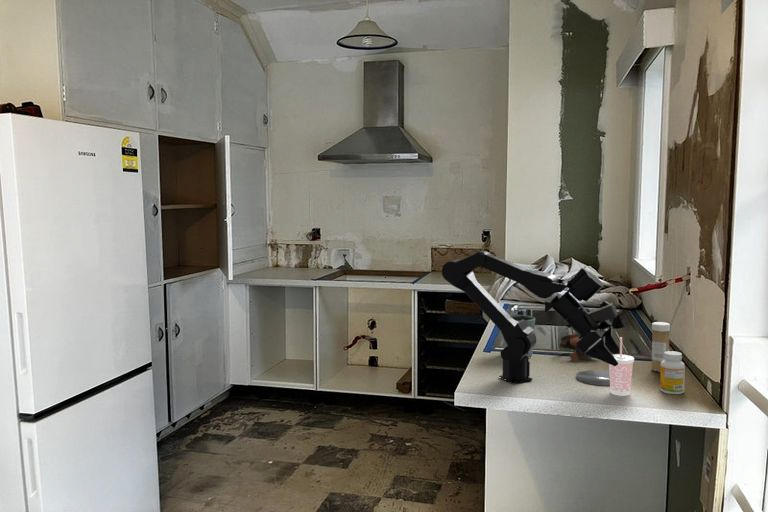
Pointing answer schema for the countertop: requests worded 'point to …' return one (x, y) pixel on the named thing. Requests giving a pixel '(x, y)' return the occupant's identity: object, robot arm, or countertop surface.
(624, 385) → the beverage cup
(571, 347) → the pottery mug
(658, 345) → the sprinkles bottle
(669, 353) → the supplement bottle
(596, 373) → the coaster
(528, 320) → the drinking glass
